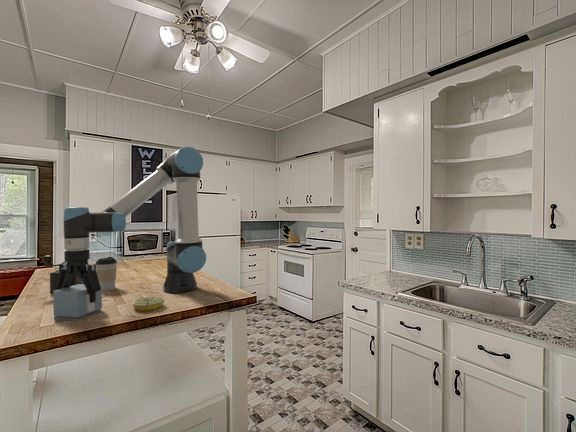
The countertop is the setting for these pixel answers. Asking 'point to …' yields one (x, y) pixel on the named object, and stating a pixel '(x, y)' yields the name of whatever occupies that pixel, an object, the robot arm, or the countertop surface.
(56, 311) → the grey rectangular block
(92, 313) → the disc
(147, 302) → the decorated donut
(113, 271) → the coffee cup
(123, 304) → the countertop surface
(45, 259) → the brown coffee grinder
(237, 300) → the countertop surface
